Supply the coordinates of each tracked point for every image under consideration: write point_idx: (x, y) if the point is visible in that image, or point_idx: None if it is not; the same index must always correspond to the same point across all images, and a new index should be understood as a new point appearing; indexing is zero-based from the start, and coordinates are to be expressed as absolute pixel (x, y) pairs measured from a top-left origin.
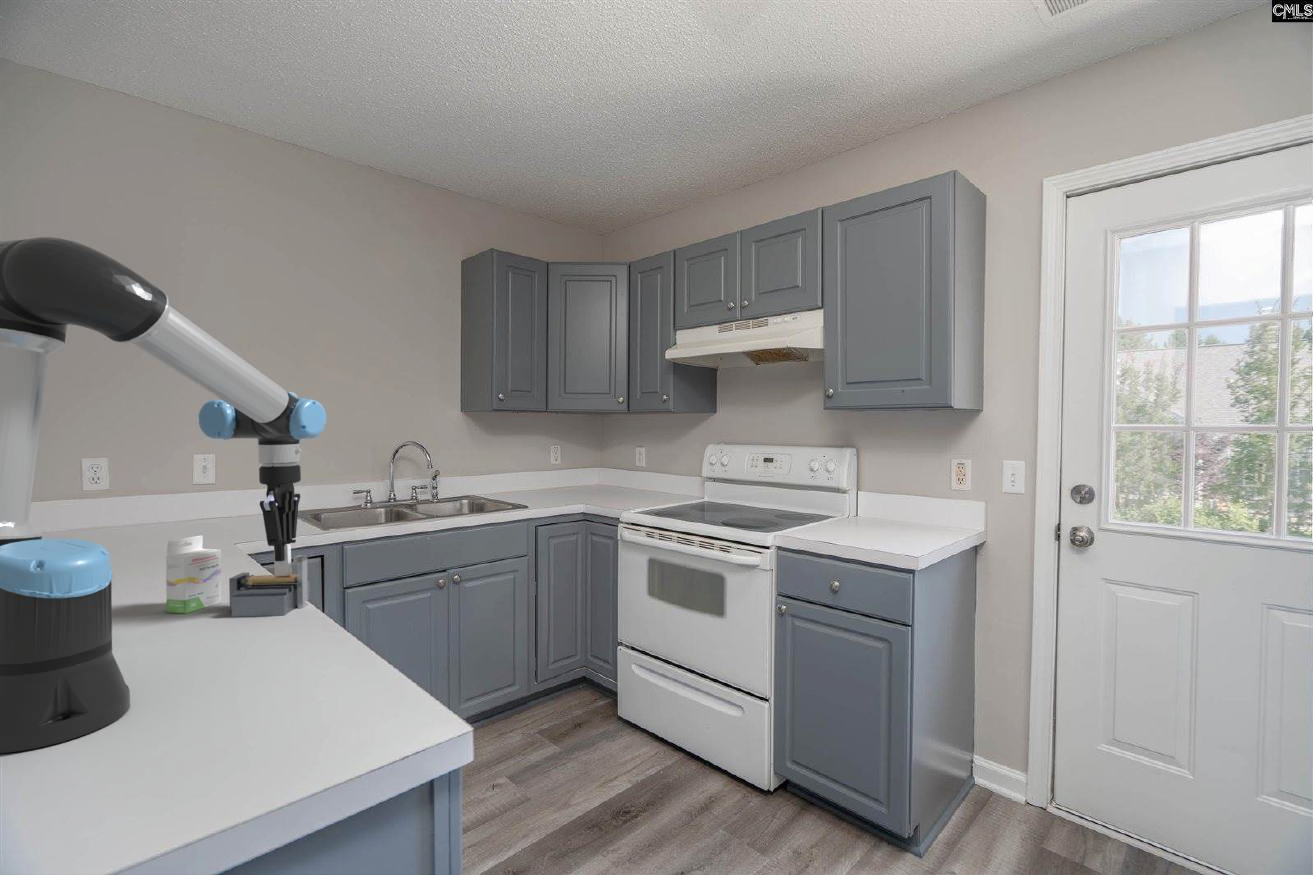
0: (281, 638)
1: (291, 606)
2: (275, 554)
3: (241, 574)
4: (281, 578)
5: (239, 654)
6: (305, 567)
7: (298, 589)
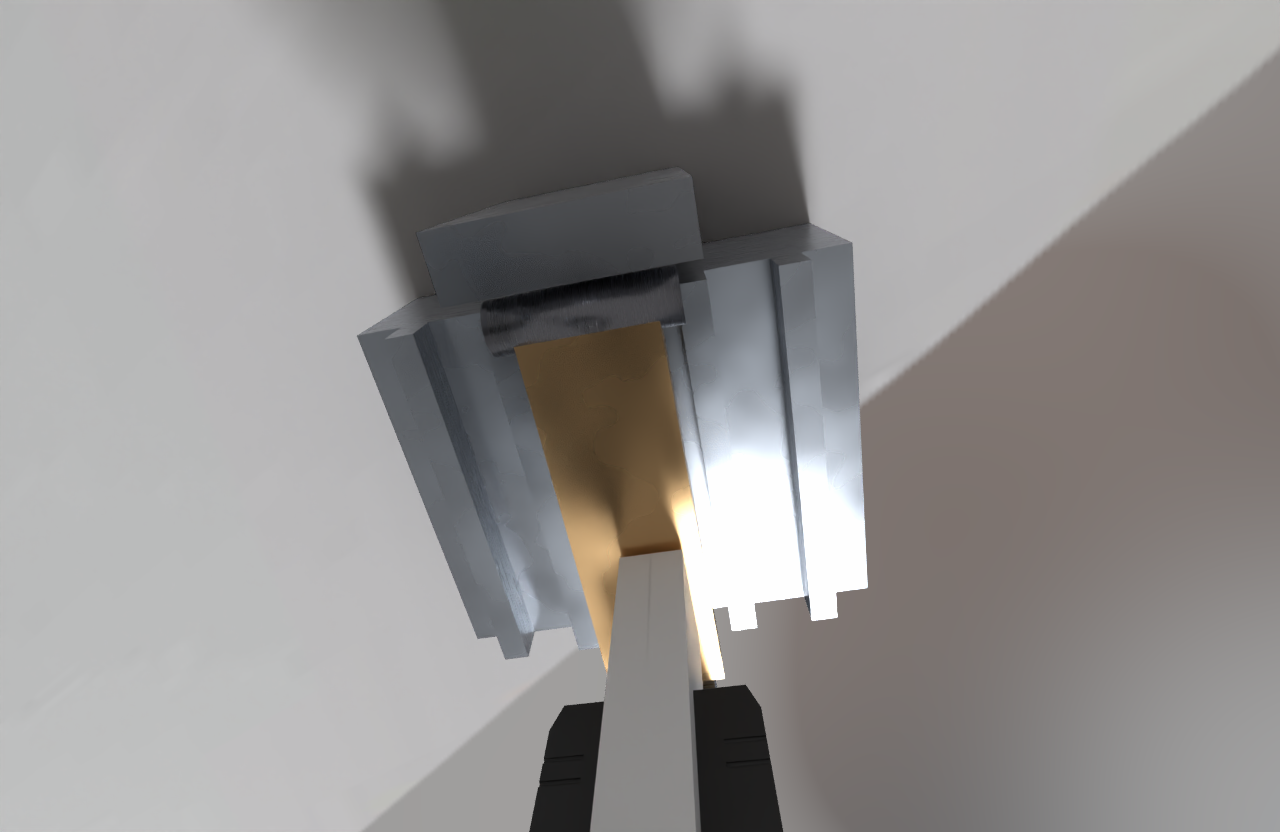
0: (234, 709)
1: None
2: (543, 788)
3: (602, 236)
4: (591, 616)
5: (39, 675)
6: None
7: None
